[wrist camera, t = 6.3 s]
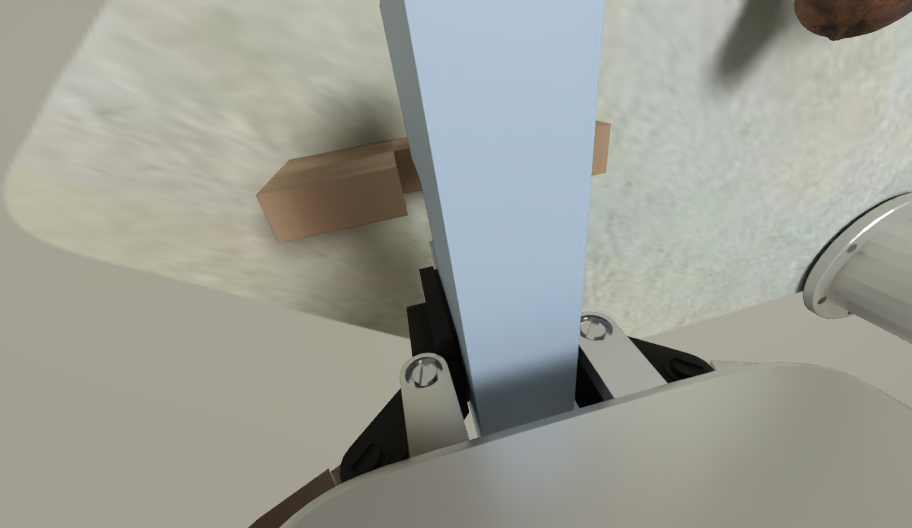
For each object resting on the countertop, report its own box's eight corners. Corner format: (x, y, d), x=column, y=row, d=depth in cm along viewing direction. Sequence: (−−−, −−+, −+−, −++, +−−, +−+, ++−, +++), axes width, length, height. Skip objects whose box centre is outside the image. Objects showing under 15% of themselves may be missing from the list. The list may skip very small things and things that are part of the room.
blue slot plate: (379, 6, 9) (382, -115, 3) (460, -6, 10) (616, -143, 3) (446, 319, 16) (491, 486, 10) (494, 307, 16) (569, 463, 10)
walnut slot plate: (551, 109, 18) (610, 124, 13) (550, 147, 19) (605, 172, 14) (289, 159, 17) (255, 195, 12) (304, 197, 18) (279, 243, 13)
